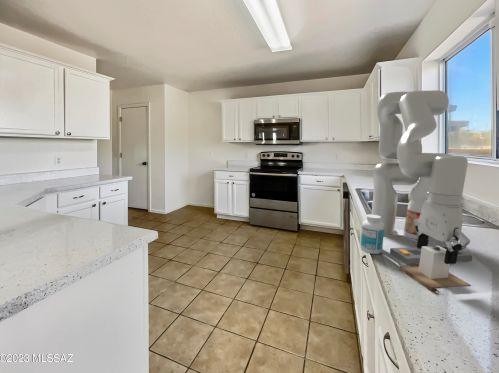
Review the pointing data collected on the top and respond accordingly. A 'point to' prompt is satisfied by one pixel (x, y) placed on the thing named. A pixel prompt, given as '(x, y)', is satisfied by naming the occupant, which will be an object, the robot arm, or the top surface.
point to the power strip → (413, 255)
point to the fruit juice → (416, 206)
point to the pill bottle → (372, 235)
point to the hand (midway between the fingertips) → (435, 255)
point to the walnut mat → (432, 283)
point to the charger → (433, 262)
